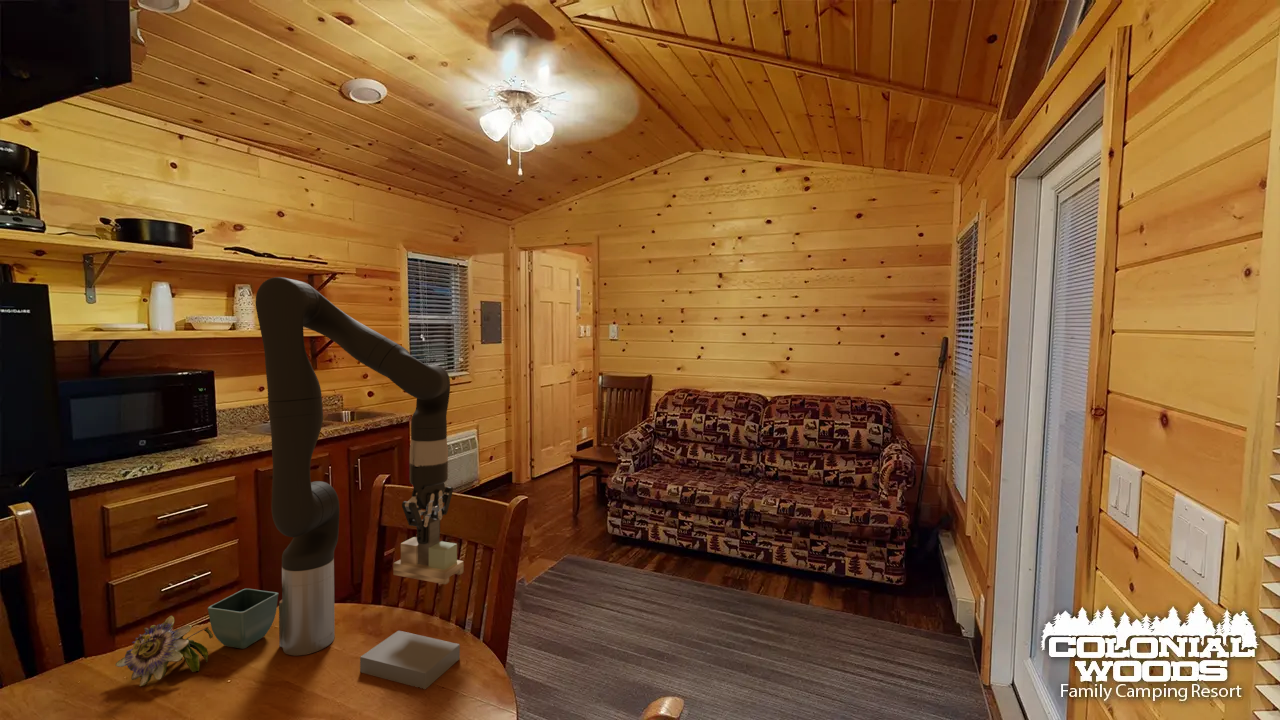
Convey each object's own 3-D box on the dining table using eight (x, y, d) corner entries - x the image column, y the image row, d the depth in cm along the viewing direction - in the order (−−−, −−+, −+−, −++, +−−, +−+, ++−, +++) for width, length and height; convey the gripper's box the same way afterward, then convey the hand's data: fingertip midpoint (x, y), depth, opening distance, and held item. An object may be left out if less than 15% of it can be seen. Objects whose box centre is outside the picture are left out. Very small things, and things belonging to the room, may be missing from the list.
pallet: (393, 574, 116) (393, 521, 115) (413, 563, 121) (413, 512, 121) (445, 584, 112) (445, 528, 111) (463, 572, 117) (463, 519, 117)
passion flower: (146, 712, 100) (94, 669, 97) (186, 666, 111) (141, 626, 108) (197, 679, 100) (146, 635, 97) (232, 636, 110) (188, 595, 107)
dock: (360, 672, 104) (360, 656, 104) (398, 644, 114) (398, 630, 114) (425, 689, 100) (425, 673, 100) (459, 658, 109) (459, 644, 109)
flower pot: (243, 656, 109) (242, 612, 108) (206, 650, 111) (205, 607, 110) (280, 633, 117) (279, 592, 117) (246, 628, 119) (245, 587, 119)
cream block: (400, 561, 116) (400, 543, 116) (413, 554, 120) (413, 536, 120) (416, 564, 115) (416, 545, 115) (429, 557, 119) (429, 539, 118)
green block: (428, 566, 114) (428, 547, 114) (441, 559, 118) (441, 541, 118) (444, 569, 113) (444, 550, 113) (456, 562, 116) (457, 543, 116)
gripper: (436, 451, 123) (435, 527, 124) (389, 465, 110) (389, 550, 111) (464, 454, 121) (463, 531, 122) (420, 469, 107) (420, 555, 108)
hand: (428, 540), depth 116 cm, fingers closed on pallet, 3 cm apart
